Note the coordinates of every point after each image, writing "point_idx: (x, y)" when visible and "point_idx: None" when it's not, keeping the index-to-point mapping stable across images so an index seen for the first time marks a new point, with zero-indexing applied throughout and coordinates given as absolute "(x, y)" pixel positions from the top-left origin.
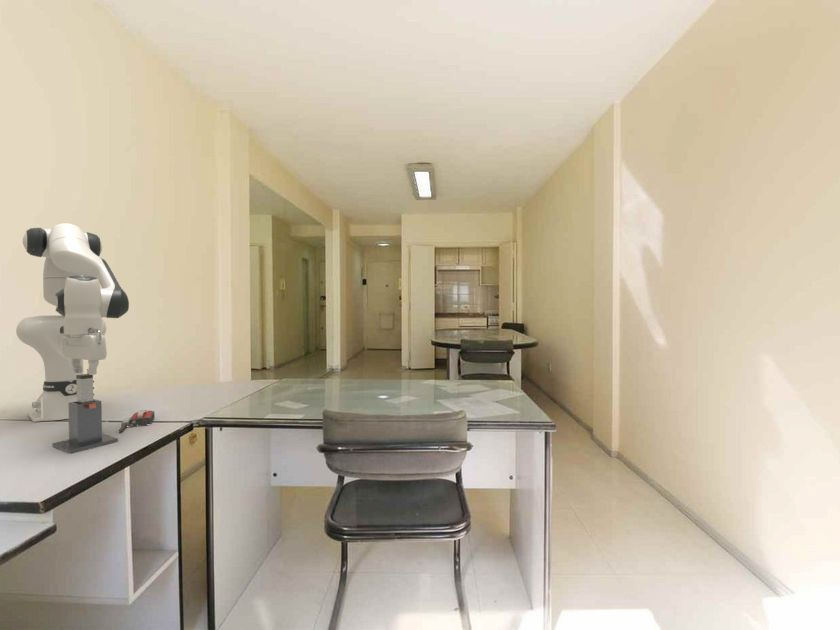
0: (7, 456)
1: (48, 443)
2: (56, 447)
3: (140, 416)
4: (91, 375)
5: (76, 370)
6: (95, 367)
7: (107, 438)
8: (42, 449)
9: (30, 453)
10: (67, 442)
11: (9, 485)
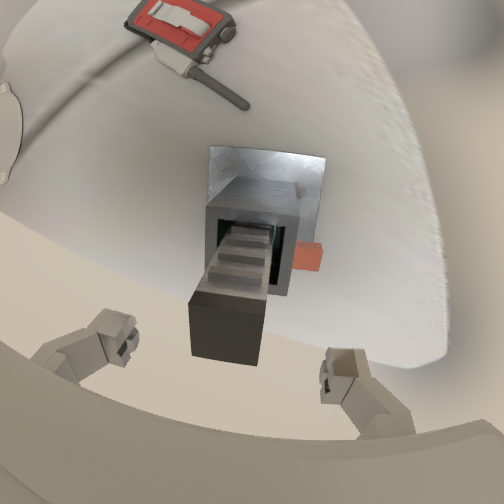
0: None
1: (170, 236)
2: None
3: (205, 30)
4: (263, 317)
5: (131, 346)
6: (377, 391)
7: (299, 171)
8: None
9: None
10: None
11: (367, 358)
